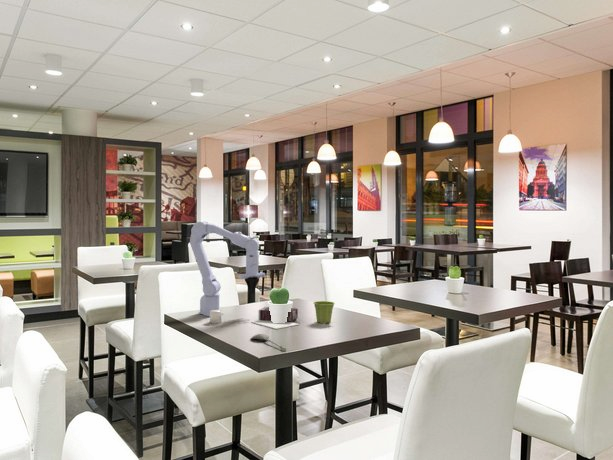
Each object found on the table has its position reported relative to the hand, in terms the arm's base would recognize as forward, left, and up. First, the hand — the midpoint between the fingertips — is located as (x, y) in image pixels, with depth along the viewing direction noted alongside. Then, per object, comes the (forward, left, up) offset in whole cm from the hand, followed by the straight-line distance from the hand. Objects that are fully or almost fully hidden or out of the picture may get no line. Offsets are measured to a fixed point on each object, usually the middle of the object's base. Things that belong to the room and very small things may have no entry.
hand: (251, 293), depth 229 cm
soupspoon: (+46, -26, -11) cm, 54 cm away
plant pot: (+32, +16, -11) cm, 37 cm away
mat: (+21, -3, -10) cm, 24 cm away
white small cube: (+2, -21, -10) cm, 24 cm away
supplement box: (+10, -2, -8) cm, 12 cm away
